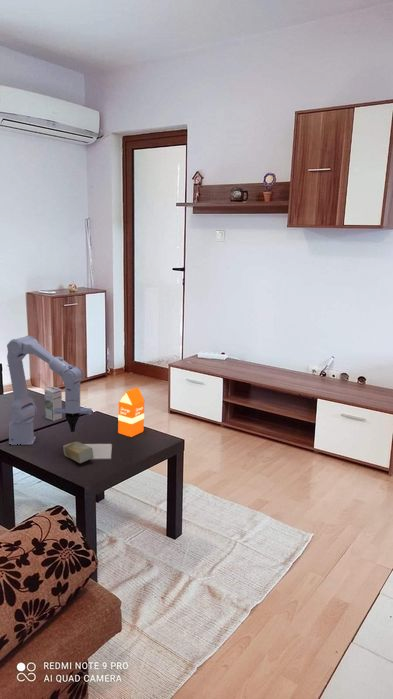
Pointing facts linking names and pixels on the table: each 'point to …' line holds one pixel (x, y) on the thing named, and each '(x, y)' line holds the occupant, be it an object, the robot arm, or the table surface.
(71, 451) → the skincare box
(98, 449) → the mat
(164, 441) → the table surface
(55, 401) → the syrup box
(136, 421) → the orange juice
